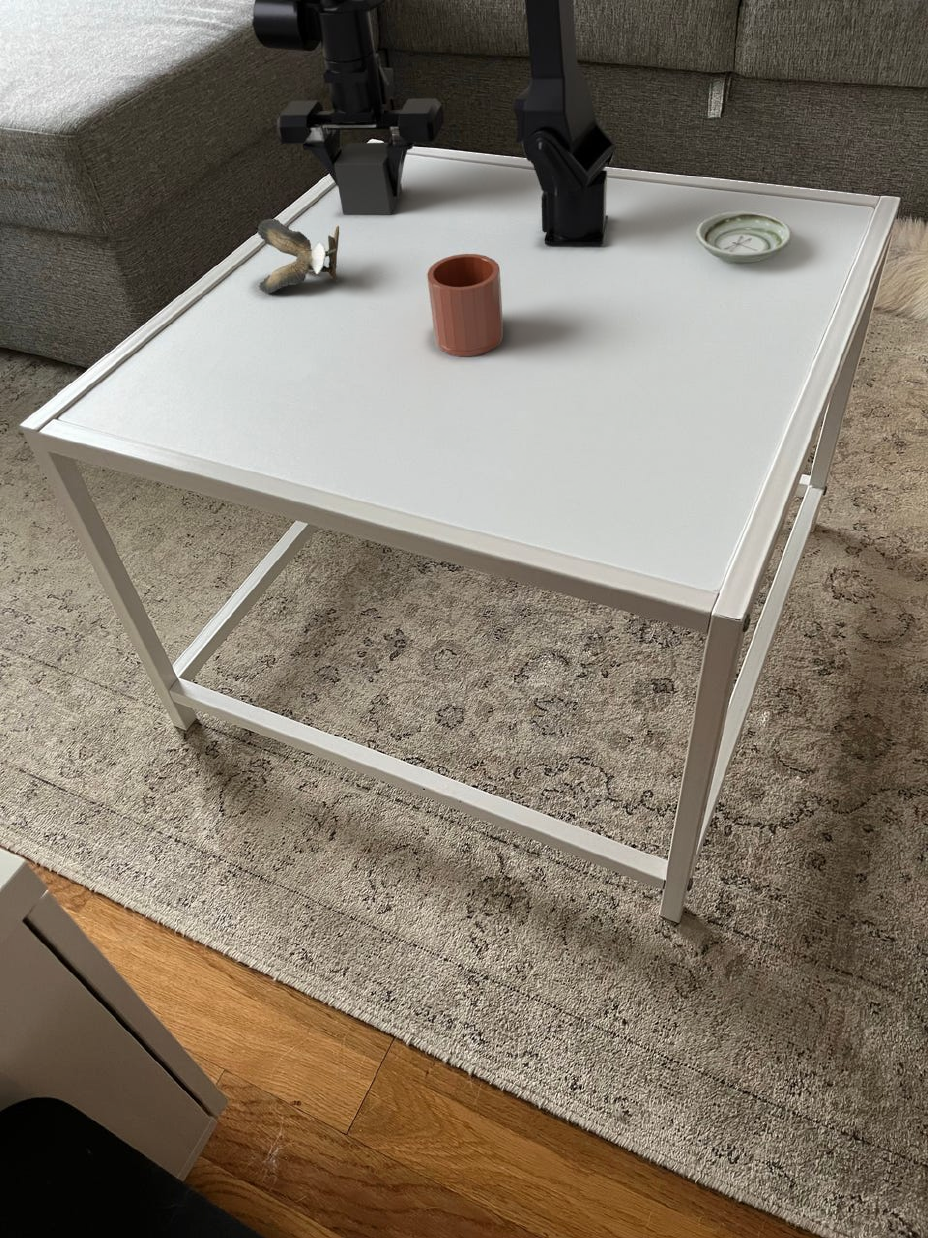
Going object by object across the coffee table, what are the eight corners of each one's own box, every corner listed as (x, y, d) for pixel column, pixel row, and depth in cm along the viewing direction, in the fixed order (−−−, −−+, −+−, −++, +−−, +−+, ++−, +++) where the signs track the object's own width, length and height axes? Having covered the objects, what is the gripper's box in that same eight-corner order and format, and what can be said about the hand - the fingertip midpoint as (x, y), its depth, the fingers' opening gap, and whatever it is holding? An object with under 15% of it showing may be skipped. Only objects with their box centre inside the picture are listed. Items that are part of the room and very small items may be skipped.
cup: (508, 320, 94) (505, 254, 89) (496, 357, 90) (492, 290, 85) (443, 317, 96) (436, 252, 90) (428, 355, 91) (420, 288, 86)
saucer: (768, 283, 95) (772, 260, 93) (679, 264, 99) (681, 242, 97) (801, 241, 100) (805, 218, 98) (715, 225, 104) (718, 203, 102)
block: (402, 192, 116) (395, 142, 112) (390, 214, 112) (382, 163, 108) (356, 192, 117) (348, 142, 113) (343, 214, 114) (333, 163, 109)
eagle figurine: (341, 246, 106) (260, 239, 105) (338, 209, 98) (252, 201, 98) (337, 309, 104) (255, 302, 104) (334, 276, 97) (247, 269, 97)
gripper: (447, 25, 106) (459, 166, 117) (292, 30, 109) (319, 166, 121) (424, 60, 99) (440, 207, 110) (260, 65, 102) (292, 206, 114)
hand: (371, 194), depth 114 cm, fingers closed on block, 6 cm apart
